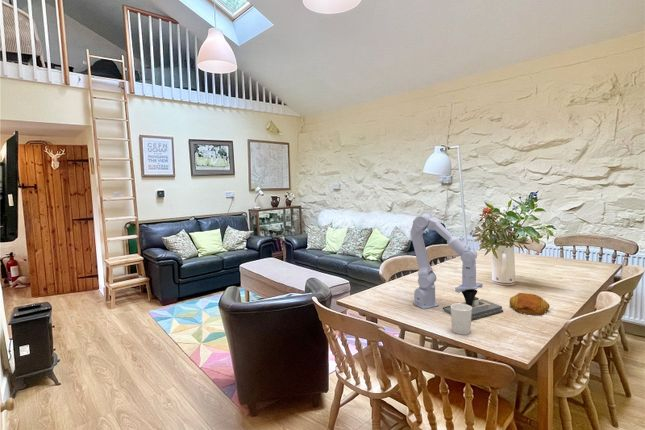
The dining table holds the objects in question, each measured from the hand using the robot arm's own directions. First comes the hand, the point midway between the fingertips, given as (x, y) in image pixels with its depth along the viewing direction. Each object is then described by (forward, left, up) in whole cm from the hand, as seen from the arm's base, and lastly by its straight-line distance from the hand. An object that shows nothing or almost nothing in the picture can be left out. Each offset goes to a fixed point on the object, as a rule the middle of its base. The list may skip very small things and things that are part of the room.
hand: (469, 305), depth 159 cm
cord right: (+2, -7, -3) cm, 8 cm away
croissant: (+24, -11, -3) cm, 27 cm away
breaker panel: (+2, 0, -3) cm, 4 cm away
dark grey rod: (+2, +8, -3) cm, 8 cm away
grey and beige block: (+3, 0, -1) cm, 3 cm away
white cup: (-18, -13, -3) cm, 22 cm away
